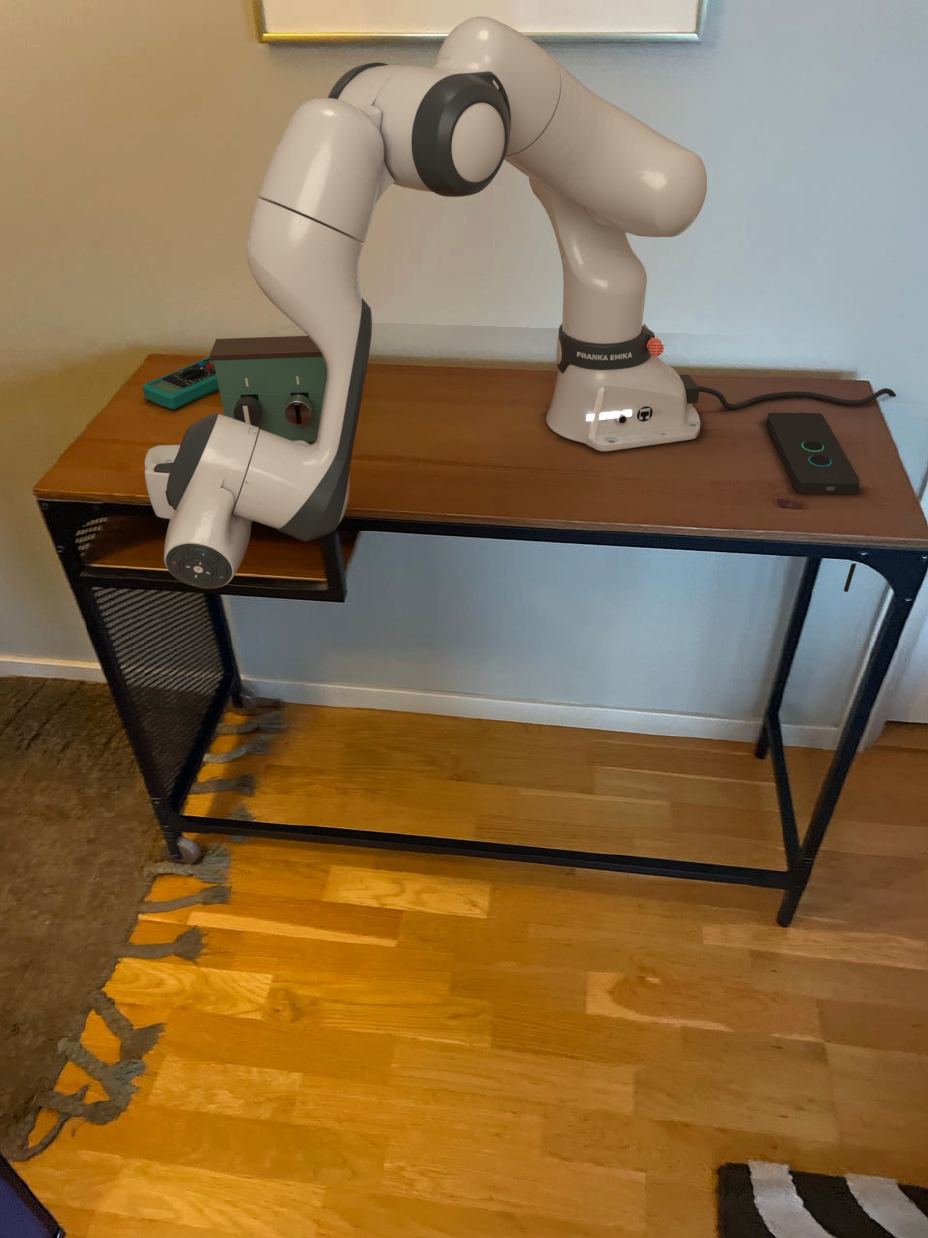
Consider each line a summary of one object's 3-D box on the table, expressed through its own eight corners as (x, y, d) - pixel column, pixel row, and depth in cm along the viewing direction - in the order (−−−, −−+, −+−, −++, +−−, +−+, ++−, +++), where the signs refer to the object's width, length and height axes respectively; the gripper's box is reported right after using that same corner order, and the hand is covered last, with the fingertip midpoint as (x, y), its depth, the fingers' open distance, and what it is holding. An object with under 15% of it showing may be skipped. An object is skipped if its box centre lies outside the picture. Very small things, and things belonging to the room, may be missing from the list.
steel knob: (312, 425, 126) (309, 401, 124) (286, 426, 126) (282, 402, 124) (315, 407, 130) (312, 383, 128) (290, 408, 130) (286, 384, 128)
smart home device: (798, 482, 118) (765, 411, 134) (795, 493, 119) (763, 422, 135) (863, 482, 118) (823, 412, 133) (859, 494, 119) (820, 422, 134)
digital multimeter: (245, 379, 149) (242, 362, 147) (173, 413, 140) (168, 395, 138) (216, 368, 153) (212, 351, 151) (143, 400, 144) (138, 383, 142)
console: (335, 442, 132) (325, 350, 123) (227, 446, 132) (209, 354, 123) (338, 424, 136) (327, 334, 128) (233, 428, 136) (215, 338, 127)
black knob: (261, 427, 126) (257, 403, 124) (235, 428, 126) (231, 404, 123) (266, 409, 130) (262, 385, 128) (241, 410, 130) (236, 386, 128)
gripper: (306, 465, 107) (315, 411, 118) (130, 471, 106) (155, 417, 117) (312, 510, 111) (320, 455, 122) (142, 517, 110) (166, 460, 121)
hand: (238, 436), depth 119 cm, fingers closed
